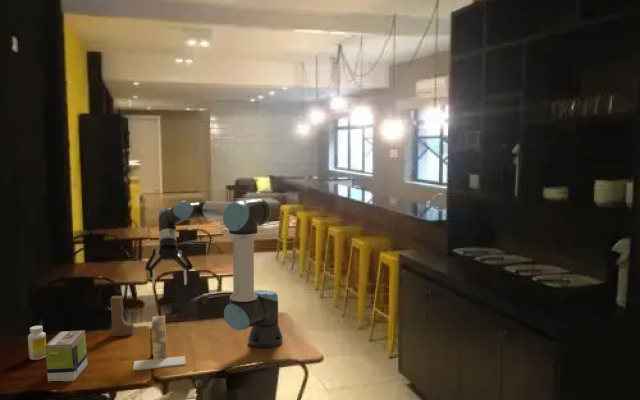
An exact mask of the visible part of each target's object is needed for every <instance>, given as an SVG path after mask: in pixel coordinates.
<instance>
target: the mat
mask: <svg viewBox="0 0 640 400" xmlns="http://www.w3.org/2000/svg"><path fill="white" fill-rule="evenodd" d="M186 363H187V362H186V356H185V355H183V356H172V357H166V358H161V359H154V358H153V359H144V360H134V361H133V367H132V371H142V370H151V369H161V368H169V367H178V366H186V365H187V364H186Z"/></svg>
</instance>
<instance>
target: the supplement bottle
mask: <svg viewBox="0 0 640 400" xmlns="http://www.w3.org/2000/svg"><path fill="white" fill-rule="evenodd" d="M43 329H44V328H43V325H33V326H31V327H29V332H30V333H29V334H28V336H27V342H28V357H29V360H33V361H38V360H42V359H44V358H45V359H46V352H45V345H47V335H46V334H47V333H46V332H44V331H43Z"/></svg>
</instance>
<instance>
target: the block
mask: <svg viewBox="0 0 640 400" xmlns="http://www.w3.org/2000/svg"><path fill="white" fill-rule="evenodd" d="M151 320H152V321H151V325H152V326H151V328H152V331H151V332H152V350H153V351H152V352H153V353H152V354H153V359H161V358H167V332H166V330H167V329H166V327H167V326H166V315H156V316H152V319H151Z"/></svg>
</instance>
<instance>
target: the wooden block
mask: <svg viewBox="0 0 640 400" xmlns="http://www.w3.org/2000/svg"><path fill="white" fill-rule="evenodd" d="M123 305H124V304H123V295H112V296H111V297H110V312H111V336H112V337H123V336H124V337H125V336H133V335H134V333H135V328H134V327H135V326H134V322H128V321H127V320H125V317H124V308H123Z"/></svg>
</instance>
